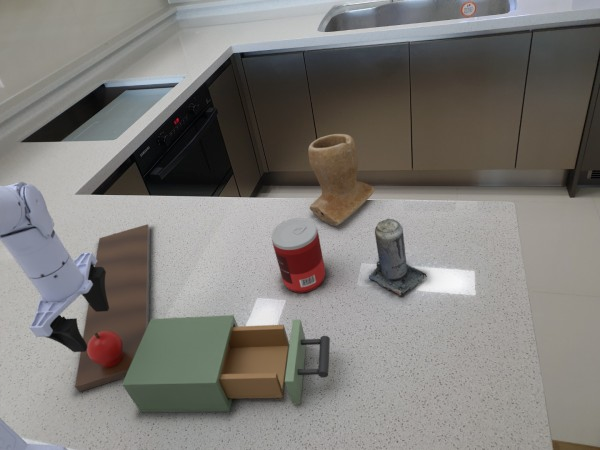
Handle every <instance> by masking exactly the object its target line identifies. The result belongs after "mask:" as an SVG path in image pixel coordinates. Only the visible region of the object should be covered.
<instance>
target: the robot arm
mask: <svg viewBox="0 0 600 450" xmlns="http://www.w3.org/2000/svg"><path fill="white" fill-rule="evenodd" d="M54 227H55V223H54V220H53V217H52V216H51V214H50V212H49V210H48V207H47V203H46V200H45V197H44V196H43V194H42V191H41V190H39V188H37V186H35V185H33V184H31V183H26V182H25V181H19V182H15V183H12V184H9V185H0V242H1V243H2V244H3V246H4V247H5V248H6V250H7V252H8V253H9V254H10V255H11V257H12V258H13V259H14V260H15V262H16V264H18V266H19V267H20V269H21V271H23V273H24V274H25V276H26V277H27V279H28V280H29V281H30V282H31V284H32V285H33V287H34V288H35V289H36V291H37V292H38V294H39V295H40V296H39V301H38V304H37V308H36V311H35V314H34V318H33V320H32V322H31V324H30V325H29V328H28V329H29V330H30V332H32V334H33V335H34V336H35V337H36V338H47V339H49V340H52V341H55V342H57V343H59V344H61V345H63V346H64V347H66V348H67V349H69V350H70V351H71V352H73V353H81V352H85V351H86V350H87V348H88V347H87V344H86V342H85V341H84V339H83V335H82V334H81V332H80V329H79V326H78V318H77V317H76V318H66V317H65V316H62V315H61V314H62V313H63V312H64V311H65V310H66V309H67V308H68V307H69V306H70V305H71V304H73V303H74V301H75V300H77V299H78V298H79V297H80V296H81V295H82V297H83V298H84V299H85V300H86V302H87V303H88V305H90V306H91V307H92V308H93V309H94V310H95V311H96V312H101V311H108V309H109V305H108V301H107V296H106V291H105V275H106V271H105V269H104V268H103V267H95V264H96V263H97V259H96V256H95V255H94V253H93V252H92V251H89V252H81V253H79V255H78V256H77V257H76V258H75V259H74V260H73V258H72V257H71V255H70V252H68V250H67V248H66V247H65V245H64V243H63V242H62V240H61V239H60V237H59V236H58V234H57V233H56V231H55V229H54ZM0 450H68V449H67V448H66V446H65V445H55V444H36V443H35V444H34V443H27V442H26V441H25V440H24V439H23V438H22V437H21V436H20V435H19V434H18V433H17V432H16V431H15V430H14V429H13V428H11V426H9V425H8V424H7V422H5V421H4V420H3V419H2V418H1V417H0Z"/></svg>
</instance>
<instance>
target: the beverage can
mask: <svg viewBox="0 0 600 450" xmlns="http://www.w3.org/2000/svg"><path fill="white" fill-rule="evenodd" d="M374 235H375V243H376V249H377V251H376V252H377V256H378V257H377V258H378V260H377V262H376V268H375V269H373V270H374V271H372V272H371V273H370V274H369V275H368V280H369V281H370V282H371V281H374V282H376V284H378V285H379V286H380V287H381V288H383V289H384V288H386V289H387V291H391V292H393V293H395V294H396V295H397V296H400V297H401V296H402V295H405V294H406V291H407V292H408V291H409V290H412V289H413V288H415V286H416V287H417V285H418V284H420V283H421V281H423V280H424V279H425V277H426V278H428V276H427V273H425V272H424V271H422V270H420V269H418V268H416V267H413V266H411V265H409V264H407V255H406V246H405V245H406V244H405V236H404V228H403V226H402V224H401V223H400V222H399V221H397V220H395V219H392V218H386V219H383V220H382V221H381V220H380V221H379V222H377V224H376V226H375V229H374ZM424 276H425V277H424Z"/></svg>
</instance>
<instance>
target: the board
mask: <svg viewBox="0 0 600 450" xmlns="http://www.w3.org/2000/svg"><path fill="white" fill-rule="evenodd" d="M97 245H98V246H97V250H96V256H95V258H96V259H97V263H96V264H95V265H94V267H103V268H104V269H105V271H106V275H105V291H106V296H107V301H108V305H109V309H108V311H101V312H96V311H95V310H94V309H93V308H92V307H91V306H90V305H89V304H88V305H87V311H86V318H85V324H84V329H83V335H82V337H83V339H84V341H85V342H86V344H87V346H88V343H89V341H90V339H91V338H92V337H93V336H94V334H95V333H99V332H102V331H112V332H114V333H116V334H117V335H118V336H119V337H120V338H121V340H122V343H123V349H122V351H123V357H122V359H121V360H120V361H119V362H118V363H117V364H116V365H114V366H112V367H104V366H102V365H100V364H97V363H95V362H93V361H92V360H91V359H90V358H89V356H88V353H87V350H86V351H85V352H80V355H79V360H78V367H77V373H76V379H75V385H74V388H75V389H76V390H77V391H78V392H79V393H82V392H84V391H88V390H91V389H94V388H96V387H99V386H103V385H107V384H109V383H112V382H115V381H118V380H121V379H122V380H123V379H125V377H126V374H127V372H128V370H129V367H130V365H131V363H132V361H133V358H134V356H135V354H136V352H137V349H138V347H139V345H140V343H141V340H142V338H143V336H144V333H145V331H146V329H147V327H148V324H149V322H150V276H151V275H150V271H151V270H150V269H151V268H150V265H151V229H150V226H149V224H143V225H140V226H137V227H133V228H129V229H127V230H123V231H119V232H116V233H113V234H109V235H105V236H102V237H99V238H98V244H97Z"/></svg>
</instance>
